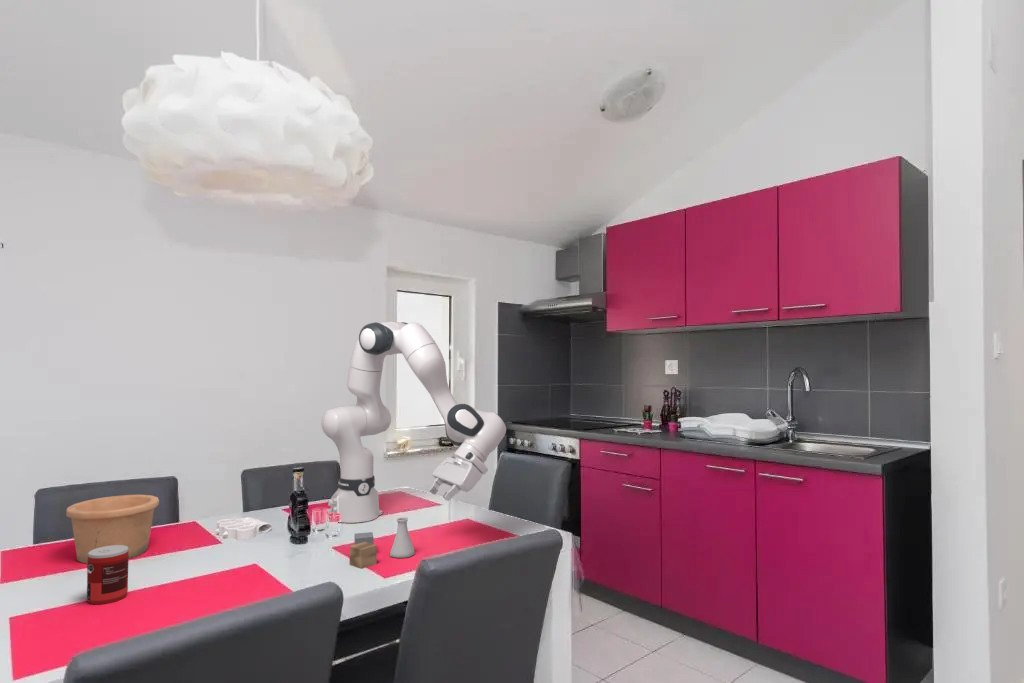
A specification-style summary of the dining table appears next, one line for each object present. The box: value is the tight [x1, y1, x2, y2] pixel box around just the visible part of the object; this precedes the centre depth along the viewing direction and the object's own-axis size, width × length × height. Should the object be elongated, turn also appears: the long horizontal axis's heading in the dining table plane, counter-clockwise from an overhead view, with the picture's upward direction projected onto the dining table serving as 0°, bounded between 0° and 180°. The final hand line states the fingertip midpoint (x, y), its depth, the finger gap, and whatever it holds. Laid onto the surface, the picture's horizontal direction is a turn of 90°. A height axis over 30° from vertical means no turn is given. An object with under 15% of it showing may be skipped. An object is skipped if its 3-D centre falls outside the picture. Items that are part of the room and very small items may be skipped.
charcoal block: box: [353, 531, 375, 545], centre depth 169 cm, size 5×5×5 cm
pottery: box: [65, 494, 160, 564], centre depth 168 cm, size 22×22×14 cm
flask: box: [389, 516, 416, 559], centre depth 167 cm, size 7×7×10 cm
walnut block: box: [349, 542, 378, 570], centre depth 159 cm, size 5×5×5 cm
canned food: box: [86, 545, 129, 605], centre depth 137 cm, size 8×8×11 cm
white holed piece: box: [213, 516, 273, 541], centre depth 189 cm, size 3×18×15 cm
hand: (438, 496), depth 173 cm, fingers open, 8 cm apart
